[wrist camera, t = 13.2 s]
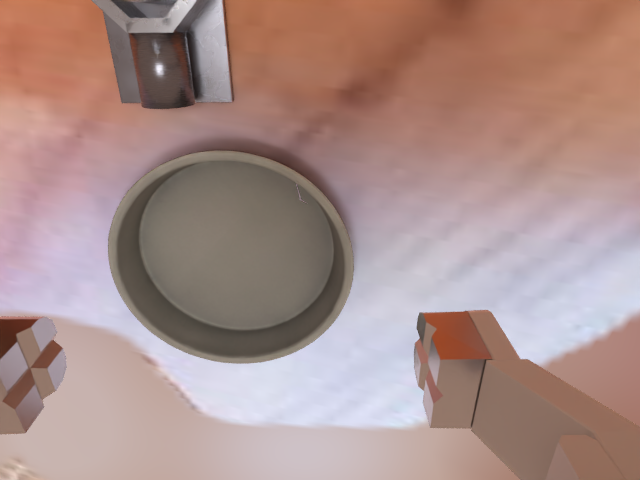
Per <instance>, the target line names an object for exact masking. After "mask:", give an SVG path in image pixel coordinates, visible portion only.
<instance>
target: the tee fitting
mask: <svg viewBox="0 0 640 480" xmlns="http://www.w3.org/2000/svg"><path fill="white" fill-rule="evenodd" d="M92 1H93V2H94V3H95V4H96V5H97V6H98V7H99V8H100V9H101V10H103V14H104V19H105V24H106V29H107V34H108V39H109V43H110V48H111V53H112V58H113V63H114V68H115V73H116V77H117V82H118V87H119V92H120V97H121V102H122V103H141V104H142V107H144V108H150V109H170V108H180V107H187V106H191V105H194V104H195V102H232V101H233V100H234V98H233V87H232V77H231V66H230V55H229V45H228V34H227V23H226V13H225V2H224V0H177V1H175V2H174V3H171V4H168V5H158V4H149V3H140V2H132V1H123V0H92Z"/></svg>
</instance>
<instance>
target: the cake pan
mask: <svg viewBox="0 0 640 480" xmlns="http://www.w3.org/2000/svg"><path fill="white" fill-rule="evenodd" d="M296 184H297V186H298V189H299V193H300V196H301V199H302V200H303V201H305V202H306V203H305V202H302V201H300V200H299V194H298V191H297V187H296ZM307 203H308V204H307ZM108 257H109V264H110V269H111V273H112V277H113V280H114V282H115V285H116V287H117V290H118V292H119V294H120V296H121V297H122V299H123V301H124V302H125V304H126V305H127V307H128V308H129V310H130V311H131V312H132V314H133V315H134V316H135V317H136V318H137V319H138V320H139V321H140V322H141V323H142V324H143V325H144V326H145V327H146V328H147V329H148V330H149V331H150V332H152V333H153V334H154V335H156V336H157V337H158V338H160V339H161V340H163V341H165V342H166V343H168V344H169V345H171V346H173V347H175V348H177V349H179V350H181V351H184V352H186V353H188V354H191V355H194V356H197V357H200V358H204V359H207V360H212V361H217V362H224V363H258V362H264V361H269V360H274V359H277V358H281V357H284V356H286V355H289V354H292V353H294V352H296V351H298V350H300V349H302V348H304V347H306V346H307V345H309V344H310V343H312V342H313V341H315V340H316V339H317V338H318V337H320V336H321V335H322V334H323V333H324V332H325V331H326V330H327V329H328V328H329V327H330V326H331V325H332V324H333V323H334V321H335V320H336V318H337V317H338V316H339V314H340V312H341V311H342V309H343V307H344V305H345V303H346V300H347V298H348V296H349V293H350V289H351V285H352V280H353V271H354V263H353V251H352V246H351V242H350V238H349V235H348V233H347V230H346V228H345V226H344V223H343V221H342V219H341V217H340V216H339V214H338V212H337V211H336V209H335V208H334V206H333V205H332V203H331V202H330V201H329V200H328V198H327V197H326V196H325V195H324V194H323V193H322V192H321V191H320V190H319V189H318V188H317V187H316V186H315V185H314V184H313V183H311V182H310V181H309V180H308V179H306V178H305V177H304V176H302V175H300V174H299V173H297V172H296V171H294V170H292V169H290V168H289V167H287V166H285V165H283V164H280V163H278V162H276V161H274V160H271V159H268V158H265V157H262V156H257V155H254V154H249V153H244V152H238V151H204V152H197V153H192V154H188V155H185V156H181V157H178V158H176V159H173V160H171V161H168V162H166V163H164V164H162V165H160V166H158V167H157V168H155V169H153V170H152V171H150V172H149V173H148V174H146V175H145V176H143V177H142V178H141V179H140V180H139V181H137V182H136V183H135V184H134V186H133V187H132V188H131V189H130V190H129V191H128V192H127V194H126V195H125V196H124V198H123V199H122V201H121V203H120V204H119V206H118V208H117V211H116V213H115V215H114V218H113V221H112V224H111V228H110V232H109V238H108Z"/></svg>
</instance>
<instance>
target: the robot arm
mask: <svg viewBox="0 0 640 480" xmlns="http://www.w3.org/2000/svg"><path fill="white" fill-rule="evenodd" d="M417 330H418V333H419V337H420V339H419V340H418V341H417V342H416V343H415V348H414V369H415V375H416V379H417V383H418V386H419V387H420V388H421V389H422V390H424V396H423V405H424V408H425V412H426V415H427V418H428V422H429V425H430V428H472V430H471V431H472V432H473V433H474V434H475V435H477V436H478V437H479V439H481V441H482V442H483V443H484V444H485V445H486V446H487V447H488V448H489V449H490V450H491V451H492V452H493V453H494V454H495V455H496V456H497V457H498V458H499V459H500V460H501V461H502V462H503V463H504V464H505V465H506V466H507V467H508V468H509V469H510V470H511V471H512V472H513V473H514V474H515V475H516V476H517V477H518V478H519V479H520V480H640V427H639V426H638V425H636V424H634V423H633V422H631V421H629V420H628V419H626V418H624V417H623V416H621V415H619V414H618V413H616V412H614V411H613V410H611V409H609V408H608V407H606V406H604V405H602V404H601V403H599V402H598V401H596V400H594V399H593V398H591V397H589V396H588V395H586V394H584V393H583V392H581V391H579V390H578V389H576V388H574V387H573V386H571V385H569V384H568V383H566V382H564V381H563V380H561V379H560V378H558V377H556V376H555V375H553V374H551V373H550V372H548V371H546V370H545V369H543V368H541V367H540V366H538V365H536V364H535V363H533V362H531V361H530V360H528V359H520V358H519V356H518V354H517V353H516V351H515V349H514V348H513V346H512V345H511V343H510V341H509V340H508V338H507V337H506V335H505V333H504V332H503V330H502V329H501V327H500V325H499V324H498V322H497V321H496V319H495V317H494V316H493V314H492V313H491V312H490V311H488V310H474V311H465V312H421V313H419V316H418V321H417ZM56 334H57V331H56V328H55V325H54V323H53V321H52V320H51V319H49V318H47V317H6V316H2V317H0V434H19V433H26V432H27V430H28V429H29V427H30V426H31V425H32V423H33V422H34V421H35V419H36V418H37V416H38V415H39V414H40V412H41V411H42V409H43V408H44V404H43V399H44V398H45V397H47V396H48V395H50V394H52V393H53V392H55V391H56V390H57V388H58V387H59V385H60V384H61V382H62V381H63V377H64V374H65V370H66V356H65V353H64V350H63V348H62V347H61V346H60V345H58V344H57V343H56V342H55V341H54V340H53V339H54V337H55V336H56Z"/></svg>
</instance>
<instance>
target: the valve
mask: <svg viewBox="0 0 640 480" xmlns="http://www.w3.org/2000/svg"><path fill="white" fill-rule="evenodd" d="M123 1H132V2H140V3H149V4H158V5H168V4H171V3H174V2H175V1H177V0H123Z"/></svg>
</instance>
